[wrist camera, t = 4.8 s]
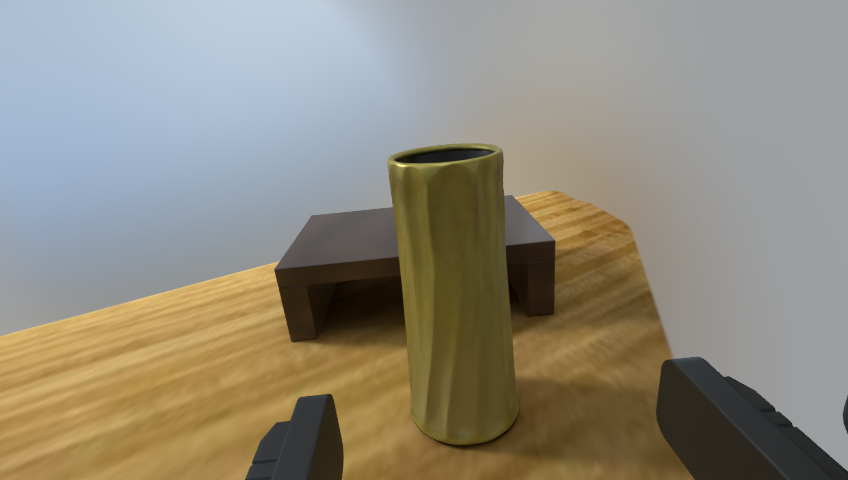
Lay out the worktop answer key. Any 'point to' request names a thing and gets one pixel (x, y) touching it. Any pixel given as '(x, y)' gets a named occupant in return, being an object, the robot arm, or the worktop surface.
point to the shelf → (395, 262)
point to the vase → (455, 290)
